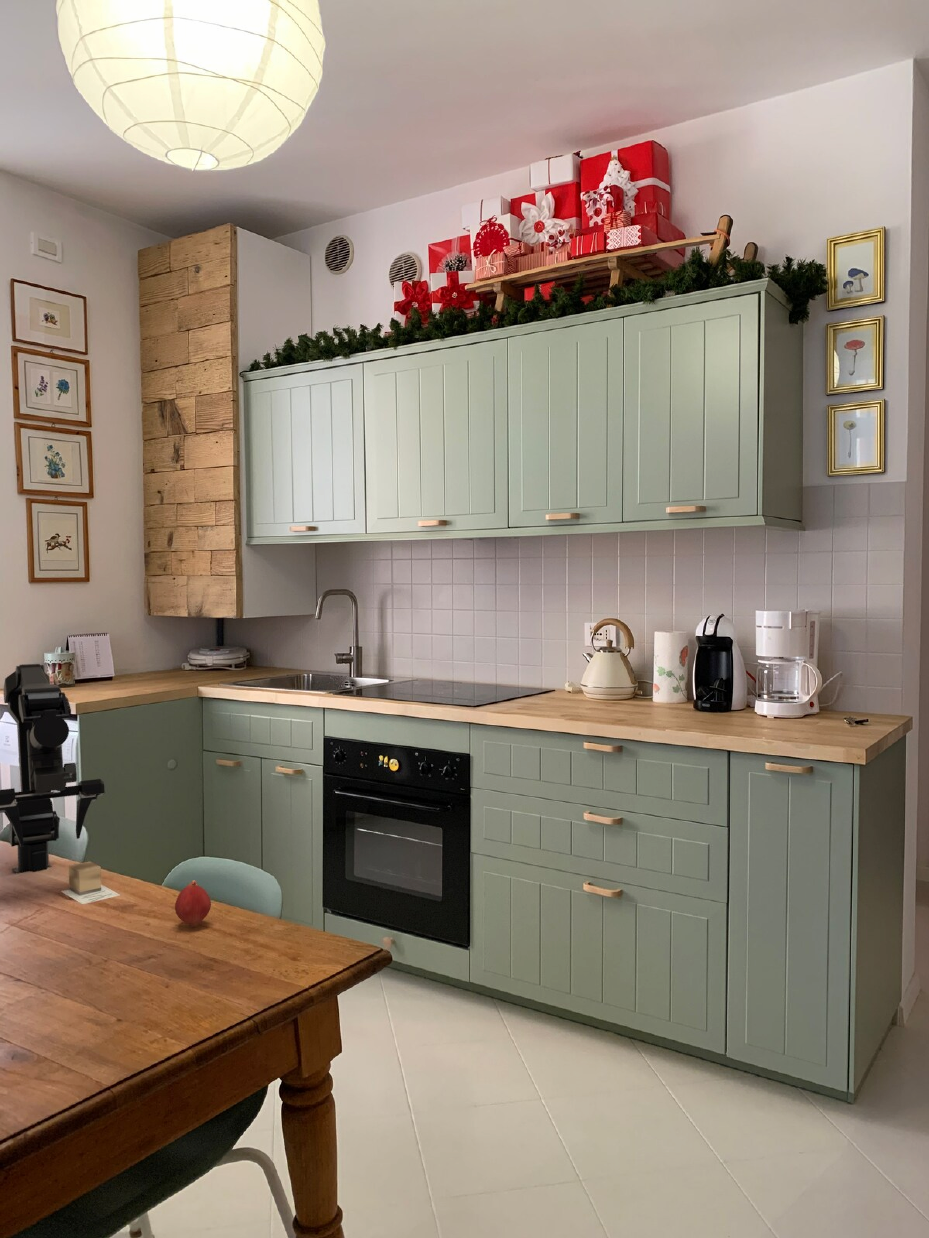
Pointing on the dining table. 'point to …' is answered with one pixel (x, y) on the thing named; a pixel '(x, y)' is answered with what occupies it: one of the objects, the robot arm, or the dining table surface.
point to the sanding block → (84, 878)
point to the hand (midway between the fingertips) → (50, 842)
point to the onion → (192, 904)
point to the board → (92, 895)
